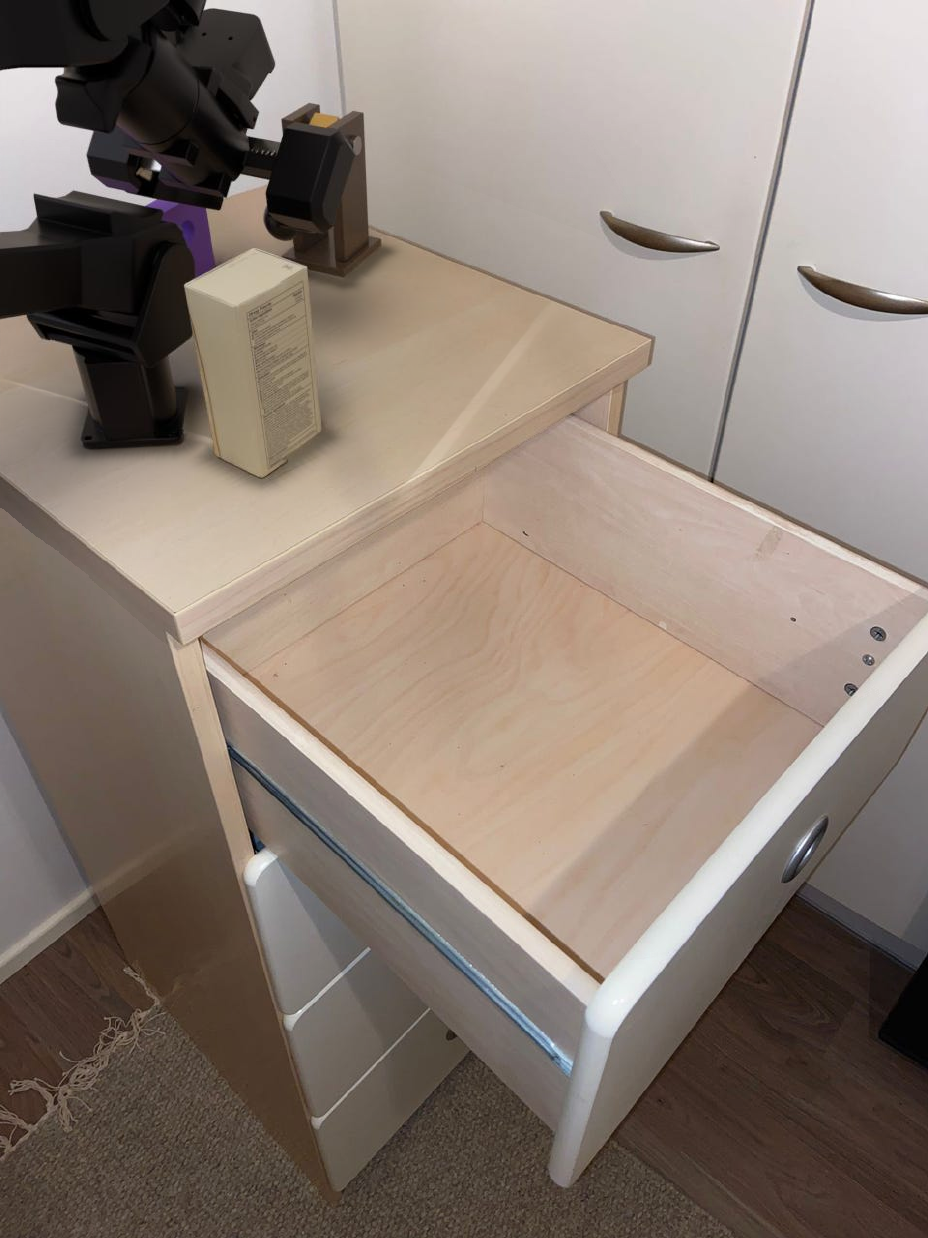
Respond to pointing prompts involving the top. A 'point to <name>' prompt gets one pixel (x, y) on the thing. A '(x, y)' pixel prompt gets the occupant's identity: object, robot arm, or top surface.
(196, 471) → the top surface
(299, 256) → the lock bracket
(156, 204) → the bracket
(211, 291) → the cosmetic box
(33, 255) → the robot arm
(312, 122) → the lock lever
